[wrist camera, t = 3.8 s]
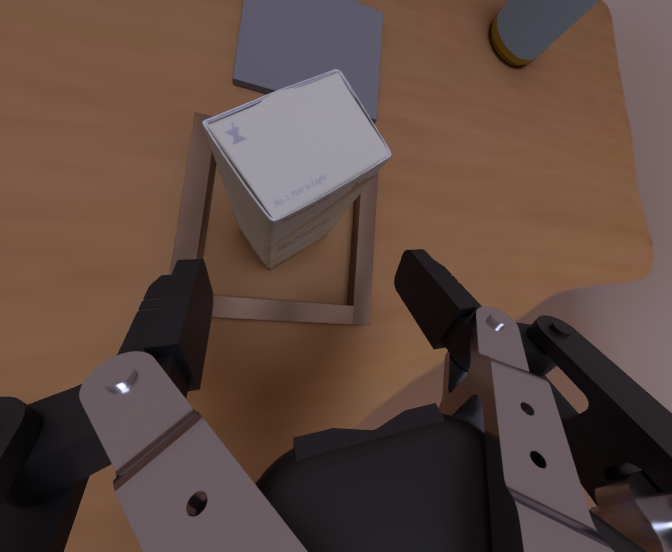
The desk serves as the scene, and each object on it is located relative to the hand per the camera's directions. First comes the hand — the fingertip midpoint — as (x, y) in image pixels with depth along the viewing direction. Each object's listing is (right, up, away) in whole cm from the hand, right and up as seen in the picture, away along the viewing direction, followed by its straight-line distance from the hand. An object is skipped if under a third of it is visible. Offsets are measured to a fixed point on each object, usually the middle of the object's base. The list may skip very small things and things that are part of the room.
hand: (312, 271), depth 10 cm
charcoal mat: (-1, +21, +13) cm, 25 cm away
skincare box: (-3, +4, +11) cm, 12 cm away
